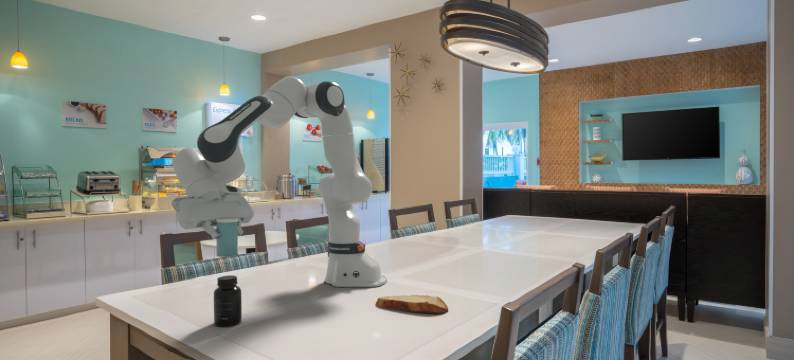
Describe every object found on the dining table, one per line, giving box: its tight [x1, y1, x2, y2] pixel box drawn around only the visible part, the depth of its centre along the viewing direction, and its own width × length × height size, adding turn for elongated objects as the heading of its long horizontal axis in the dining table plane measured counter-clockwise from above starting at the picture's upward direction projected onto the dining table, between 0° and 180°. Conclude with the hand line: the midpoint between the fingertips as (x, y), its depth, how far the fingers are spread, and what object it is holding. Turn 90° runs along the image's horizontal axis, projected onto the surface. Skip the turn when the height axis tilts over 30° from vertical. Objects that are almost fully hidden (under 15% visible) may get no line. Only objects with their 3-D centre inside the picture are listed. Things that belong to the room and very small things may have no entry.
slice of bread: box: [374, 294, 449, 315], centre depth 132 cm, size 18×18×4 cm
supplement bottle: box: [213, 275, 243, 328], centre depth 118 cm, size 7×7×12 cm
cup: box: [215, 218, 239, 258], centre depth 118 cm, size 5×5×10 cm
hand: (228, 235), depth 117 cm, fingers closed on cup, 5 cm apart
